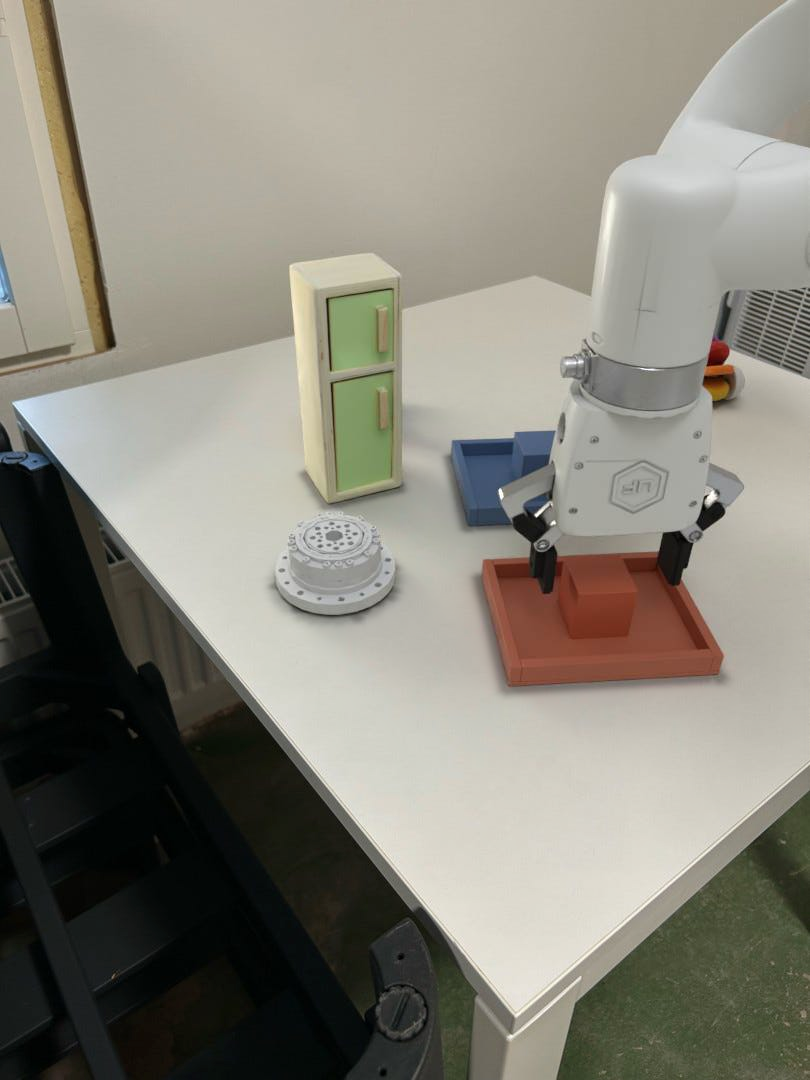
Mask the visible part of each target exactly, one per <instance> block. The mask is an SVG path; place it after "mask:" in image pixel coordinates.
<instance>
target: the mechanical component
mask: <svg viewBox="0 0 810 1080" xmlns="http://www.w3.org/2000/svg"><path fill="white" fill-rule="evenodd" d="M364 518H365V517H363V516H362V515H358V516H354V515H348V514H345V513H344V511H338V512H337V513H336V514H334V512H332V511H327V512H326V513H325V515H323V513H317V514H315V517H312V518H310V519H308V520H306V521H304V520H300V521H298V522H297V526H296V527H295V528H294V529H293V531H291V532H290V533H289V534H288V539H287V546H286V547H285V548H284V549H283V550H282V551H281V553H280V554H279V555H278V557H277V559H276V562H275V565H274V566H275V567H274V569H275V571H274V576H275V583H276V588H277V589H278V591H279V593H280V595H281V596H282V598H283V599H285V600H286V601H287V602H288V603H289V604H291V605H292V606H294V607H297V608H299V609H300V610H302V611H305V612H309V613H313V614H318V615H319V614H320V615H331V616H332V615H333V616H335V615H337V616H339V615H346V614H352V613H358V612H359V611H362V610H365V609H367V608H371V607H372V606H374V605H376V604H377V603H379V602H381V601H382V600H383V599H384V598H385V597H386V596H387V595H388V594H389V593H390V592H391V590H392V589H393V586H394V583H395V580H396V575H397V574H396V573H397V572H396V570H397V569H396V558H395V557H394V555H393V553H392V551H391V549H390V548H389V547H388V546H386V544H384V543H383V542H382V541H381V533H380V532H379V531H378V529H377V528H378V527H377V526H376V525H374V524H371V523H370V522H368V521H367V520H365V519H364Z"/></svg>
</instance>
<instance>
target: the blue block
mask: <svg viewBox="0 0 810 1080" xmlns="http://www.w3.org/2000/svg"><path fill="white" fill-rule="evenodd" d="M555 432H556V429H555V430H527V431H526V430H525V431H514V435H513V438H514V444H513V454H512V464H511V473H512V476H513V479H514V481H516V480H518V479H520V478H522V477H524V476H526V475H528V474H530V473H532V472H534V471H537V470H539V469H541V468H543V467H545V466H547V465H549V460H550V454H551V449H552V445H553V440H554V436H555ZM542 495H546V493H544V494H542Z"/></svg>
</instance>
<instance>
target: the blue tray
mask: <svg viewBox="0 0 810 1080" xmlns="http://www.w3.org/2000/svg"><path fill="white" fill-rule="evenodd" d="M450 444H451V445H450V447H451V448H450V457H451V463H452V466H453V469H454V473H455V478H456V481H457V486H458V490H459V493H460V496H461V497H460V498H461V501H462V504H463V509H464V513H465V517H466V521H467V526H468V527H473V526H475V527H476V526H497V525H500V526H501V525H513V524H512V522H511V520H510V519H509V517H508V516H507V514H506V512H505V510H504V509H503V507H502V505H501V502H500V499H499V496H498V490H499V489H500V488H501V487H503V486H505V485H507V484H509V483H511V482H514V479H513V476H512V473H511V464H512V454H513V444H514V437H505V438H502V437H501V438H481V439H480V438H474V439H472V438H471V439H452V440H451V443H450ZM547 502H548V500H547V498H546V495H540V496H538V497H536V498H534V499H532V500H529V501H527V502H526V503H525V504H524V507H525V508H526V509H527V510H528V511H530V512H531V513H532V514H533V515H534V514H535V513H536V512H537V511H539V510H540V509H541V508H542V507H543V506H544V505H545V504H546V503H547Z"/></svg>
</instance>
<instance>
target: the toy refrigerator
mask: <svg viewBox="0 0 810 1080" xmlns="http://www.w3.org/2000/svg"><path fill="white" fill-rule="evenodd" d="M288 270H289V284H290V285H289V286H290V297H291V307H292V308H291V309H292V320H293V330H294V331H293V333H294V343H295V344H294V345H295V355H296V368H297V380H298V390H299V405H300V415H301V417H300V418H301V427H302V438H303V450H304V463H305V470H306V473H307V475H308V476H309V478H310V479H311V481H312V482H313V484H314V486H315V488H316V489H317V490H318V492H319V493H320V495H321V496H322V498H323V499H324V501H325V502H326V504H334V503H338V502H342V501H347V500H350V499H355V498H359V497H364V496H367V495H371V494H375V493H379V492H382V491H388V490H391V489H396V488H399V487H401V486H402V483H403V276H402V274H401V273H400V272H399V271H398V270H397V269H395V268H394V267H393V266H391V265H390V264H389V263H387V262H386V261H385V260H384V259H382V258H381V257H379V256H378V255H377V254H376V253H374V252H364V253H355V254H348V255H341V256H335V257H328V258H320V259H314V260H305V261H299V262H293V263H290V265H289V267H288Z"/></svg>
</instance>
